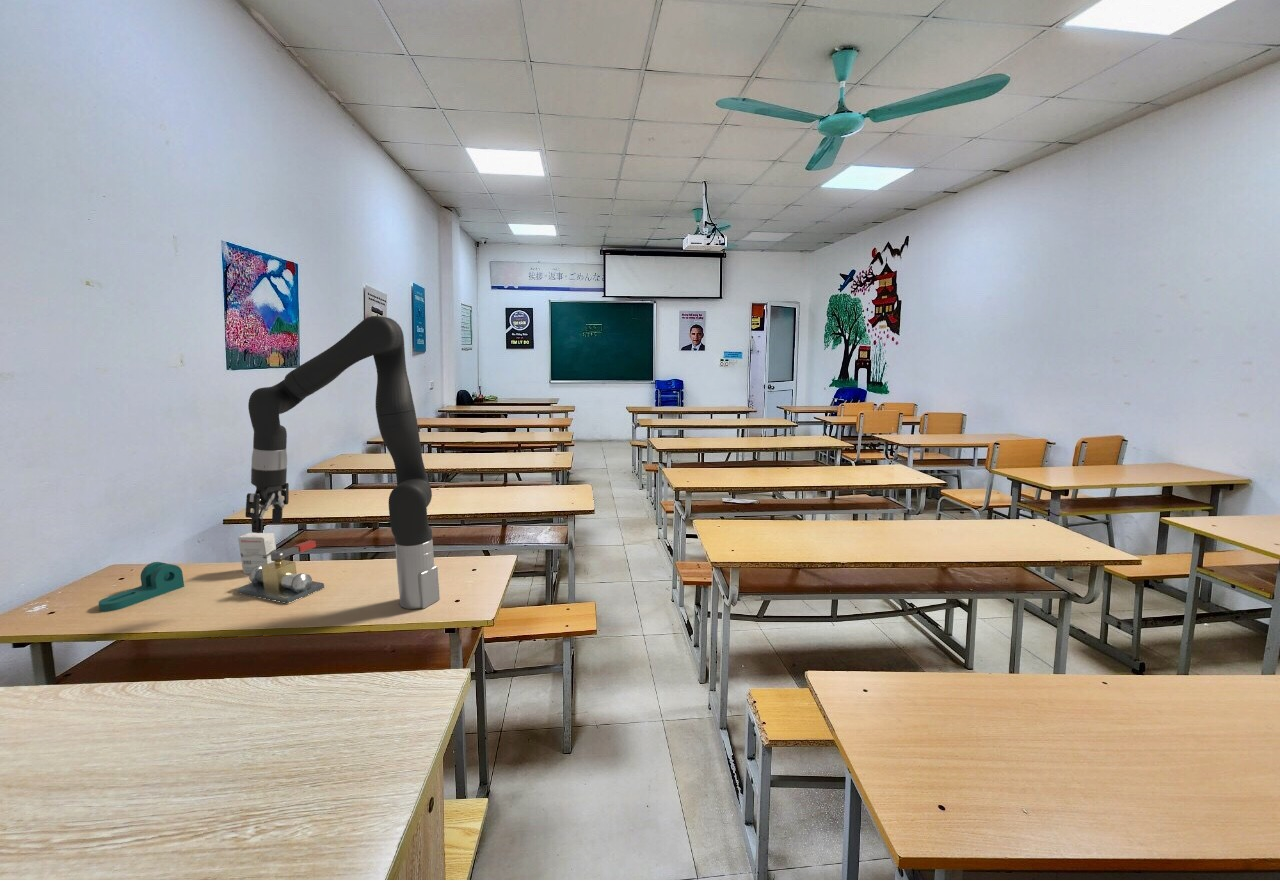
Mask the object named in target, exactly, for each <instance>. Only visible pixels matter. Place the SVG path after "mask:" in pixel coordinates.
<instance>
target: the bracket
mask: <svg viewBox="0 0 1280 881" xmlns="http://www.w3.org/2000/svg"><path fill="white" fill-rule="evenodd" d="M140 582H141V584H140V586H137V587H133V588H130V589H128V590H125V591H122V592H118V593H116V594H112V595H110V596H107V597H104V598H102V599H100V600H99V601H97V602H98V603H97V604H98V609H99V611H100V612H103V613H105V612H106V613H107V612H115V611H118V610H123V609H125V608H129V607H131V606H134V605H137V604H140V603H143V602H145V601H148V600H151V599H154V598H156V597H159V596H162V595H164V594H165V595H166V594H167V593H168V594H169V593H171V592H172V591H174V592H175V591H176V590H179V589H182V588H184V587H185V581H184V574H183V570H182V568H181V567H180V566H179V565H177V564H173V563H172V564H171V563H165V562H162V561H161V562H160V561H153V562H151V563H148V564H147V565H146V566H144V567H143V569H142V571H141V572H140Z"/></svg>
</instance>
